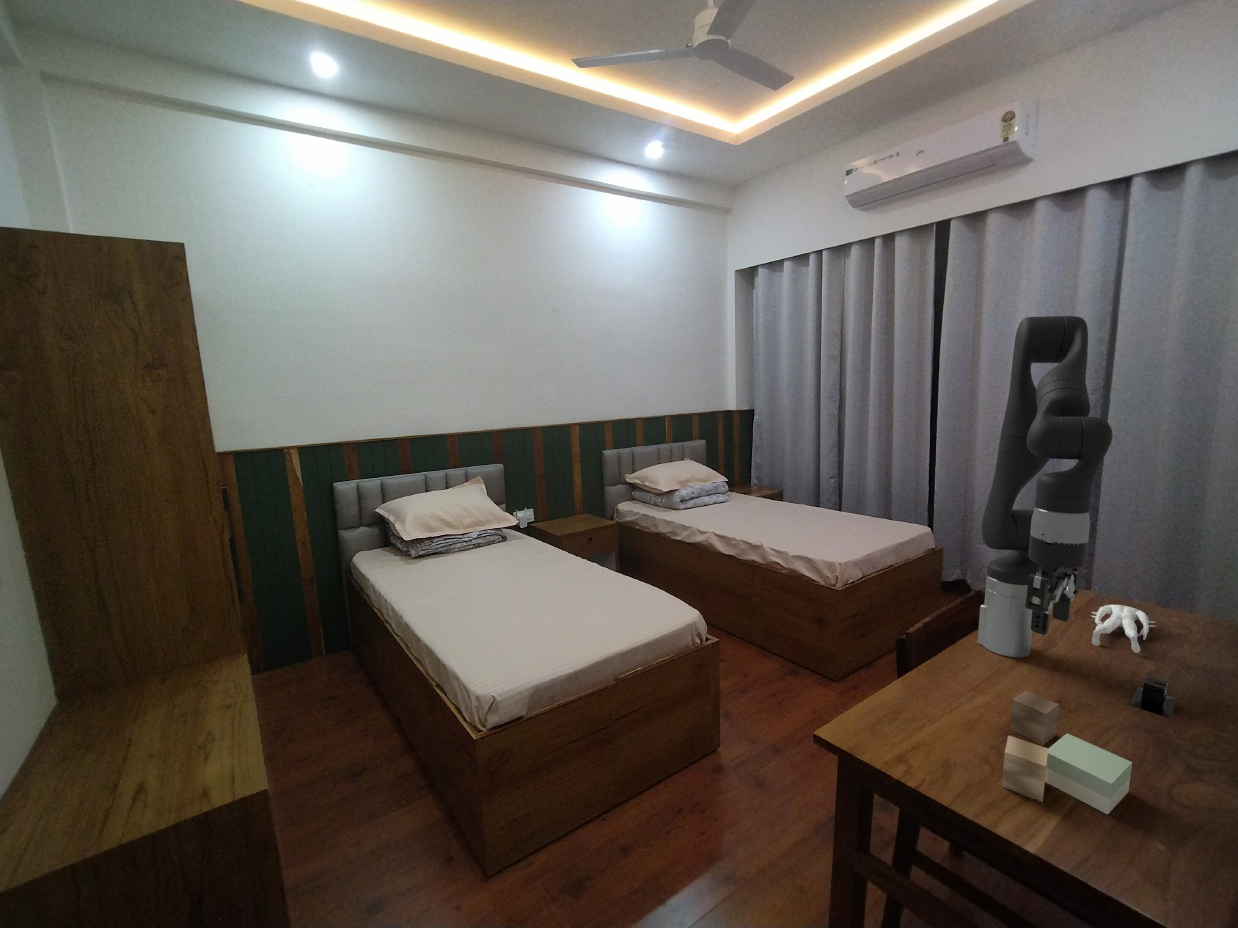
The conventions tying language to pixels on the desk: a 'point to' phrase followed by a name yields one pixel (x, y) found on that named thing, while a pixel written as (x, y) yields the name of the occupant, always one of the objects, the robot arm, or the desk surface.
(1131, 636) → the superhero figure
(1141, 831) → the desk surface
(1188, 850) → the desk surface
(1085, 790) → the brick base
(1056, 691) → the desk surface
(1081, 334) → the robot arm
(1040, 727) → the walnut brick
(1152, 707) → the black angular block
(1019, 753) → the brick
